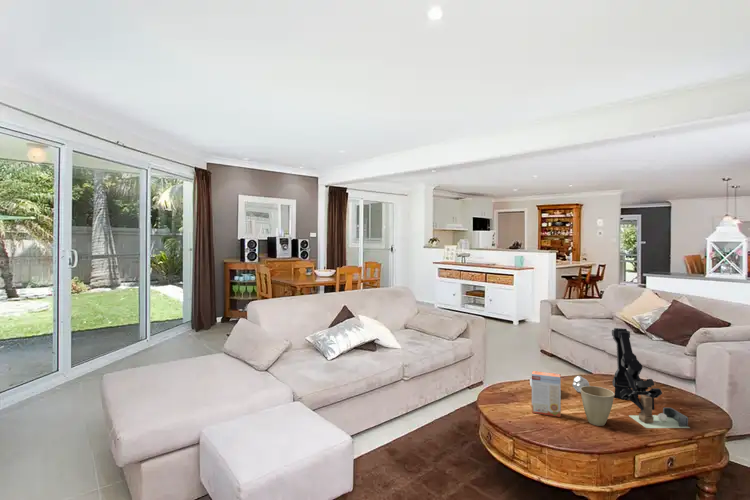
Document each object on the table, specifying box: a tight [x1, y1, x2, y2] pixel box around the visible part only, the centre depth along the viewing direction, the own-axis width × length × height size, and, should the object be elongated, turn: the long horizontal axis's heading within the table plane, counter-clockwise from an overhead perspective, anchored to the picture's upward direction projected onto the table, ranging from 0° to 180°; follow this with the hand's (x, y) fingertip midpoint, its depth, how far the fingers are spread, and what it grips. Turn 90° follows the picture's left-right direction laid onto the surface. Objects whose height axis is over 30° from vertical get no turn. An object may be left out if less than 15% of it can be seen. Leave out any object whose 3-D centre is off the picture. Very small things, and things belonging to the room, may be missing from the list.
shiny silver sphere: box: [572, 375, 590, 394], centre depth 247 cm, size 9×10×10 cm
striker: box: [638, 395, 654, 423], centre depth 206 cm, size 4×4×12 cm
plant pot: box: [580, 385, 615, 427], centre depth 206 cm, size 15×15×16 cm
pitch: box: [628, 414, 691, 429], centre depth 206 cm, size 21×14×1 cm, turn 90°
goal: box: [662, 407, 689, 427], centre depth 206 cm, size 4×12×4 cm, turn 0°
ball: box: [657, 412, 668, 422], centre depth 206 cm, size 4×4×4 cm
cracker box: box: [531, 370, 562, 418], centre depth 218 cm, size 14×6×21 cm, turn 65°
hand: (648, 409), depth 204 cm, fingers open, 5 cm apart
